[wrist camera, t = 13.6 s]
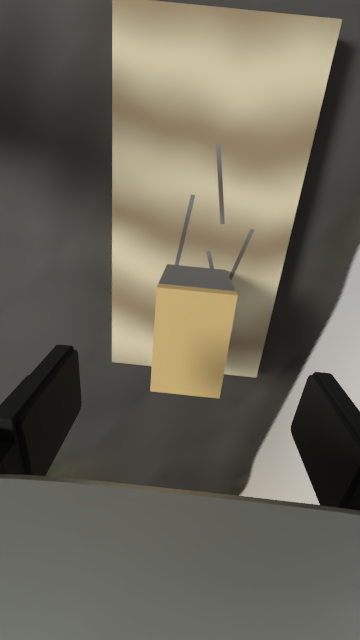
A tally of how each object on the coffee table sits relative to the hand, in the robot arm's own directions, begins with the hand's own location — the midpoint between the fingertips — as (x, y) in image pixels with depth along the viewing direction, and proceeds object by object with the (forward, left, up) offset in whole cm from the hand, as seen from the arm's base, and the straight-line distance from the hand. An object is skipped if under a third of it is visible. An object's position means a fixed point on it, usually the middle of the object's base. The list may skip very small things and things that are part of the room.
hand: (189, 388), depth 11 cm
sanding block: (+1, 0, -12) cm, 12 cm away
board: (-5, 0, -14) cm, 14 cm away
